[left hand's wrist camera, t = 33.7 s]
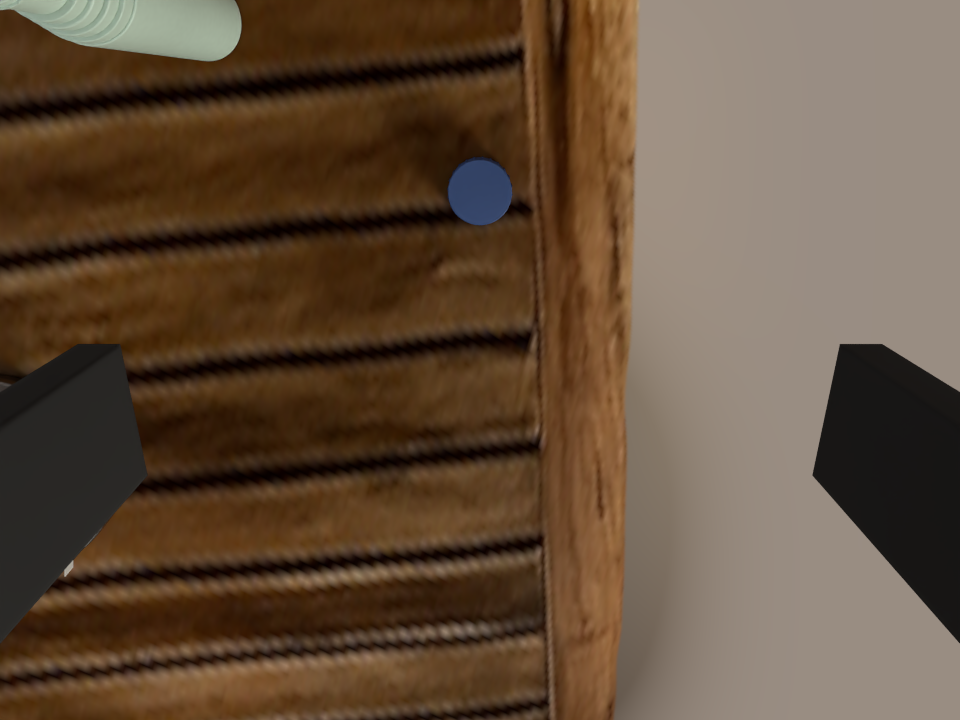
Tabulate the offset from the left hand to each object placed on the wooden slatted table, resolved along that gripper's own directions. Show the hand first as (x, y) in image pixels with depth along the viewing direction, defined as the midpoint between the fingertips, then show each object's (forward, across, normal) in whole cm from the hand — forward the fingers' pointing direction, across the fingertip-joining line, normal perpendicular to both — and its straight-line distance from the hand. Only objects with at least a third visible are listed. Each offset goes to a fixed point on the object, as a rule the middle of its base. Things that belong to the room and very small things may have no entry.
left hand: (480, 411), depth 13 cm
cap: (+30, 0, 0) cm, 30 cm away
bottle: (+32, +16, -10) cm, 37 cm away
